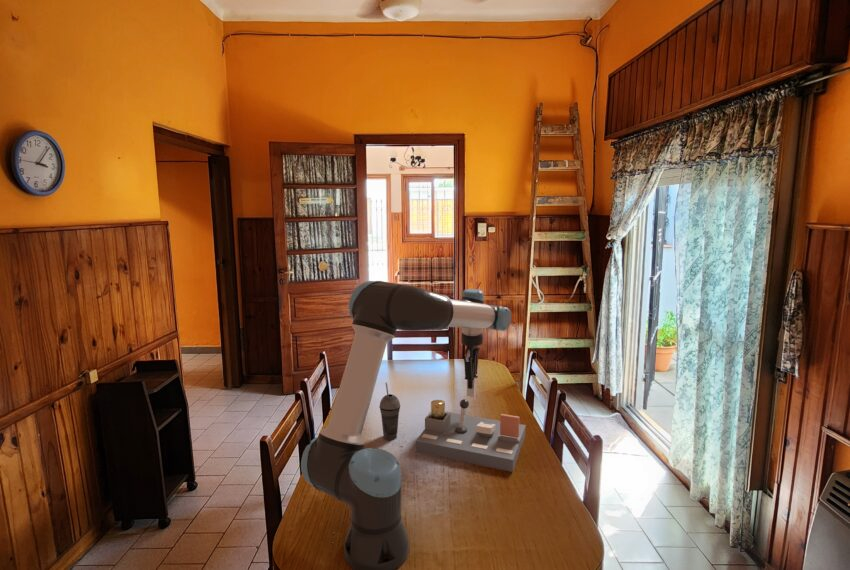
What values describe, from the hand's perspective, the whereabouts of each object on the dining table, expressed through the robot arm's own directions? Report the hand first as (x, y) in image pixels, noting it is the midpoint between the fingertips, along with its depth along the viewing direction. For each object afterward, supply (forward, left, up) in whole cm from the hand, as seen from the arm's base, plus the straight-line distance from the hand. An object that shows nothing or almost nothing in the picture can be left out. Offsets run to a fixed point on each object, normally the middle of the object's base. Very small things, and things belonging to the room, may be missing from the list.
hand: (470, 395), depth 169 cm
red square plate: (-12, -17, -7) cm, 21 cm away
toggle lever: (-12, 0, -7) cm, 14 cm away
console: (-12, -4, -12) cm, 17 cm away
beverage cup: (-18, +24, -12) cm, 32 cm away
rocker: (-12, -9, -6) cm, 16 cm away
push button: (-12, +9, -5) cm, 15 cm away
